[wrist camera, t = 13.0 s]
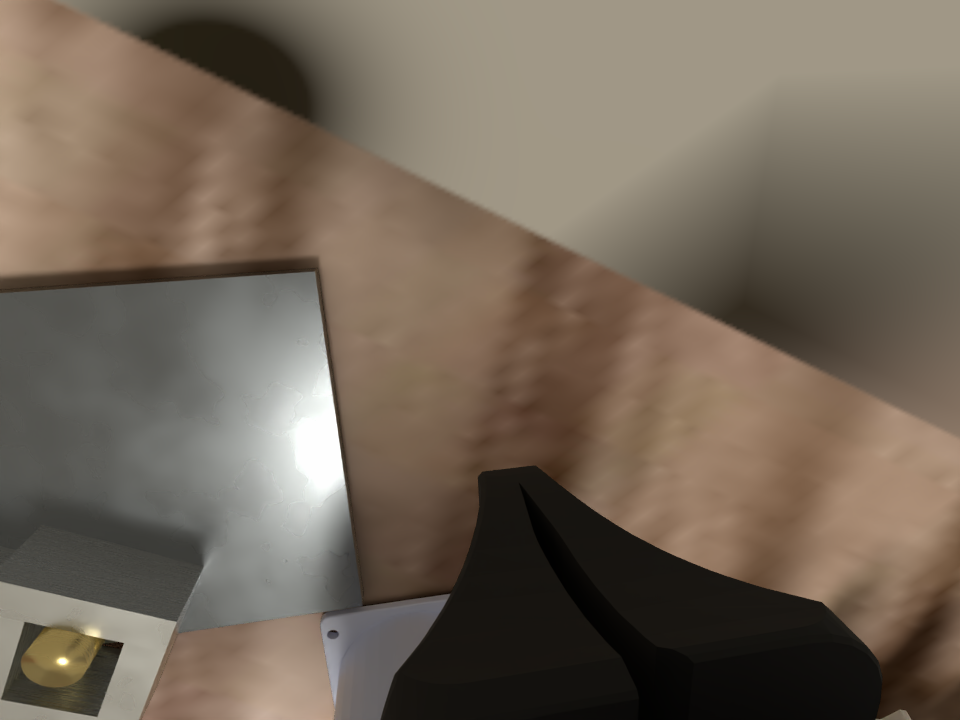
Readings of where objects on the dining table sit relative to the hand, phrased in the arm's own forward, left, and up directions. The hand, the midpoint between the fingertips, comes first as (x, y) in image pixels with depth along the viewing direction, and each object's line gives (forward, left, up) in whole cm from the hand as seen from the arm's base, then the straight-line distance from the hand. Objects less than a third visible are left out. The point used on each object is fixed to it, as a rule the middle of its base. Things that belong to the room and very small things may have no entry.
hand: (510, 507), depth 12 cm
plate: (-3, +17, -10) cm, 20 cm away
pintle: (-8, +15, -10) cm, 20 cm away
